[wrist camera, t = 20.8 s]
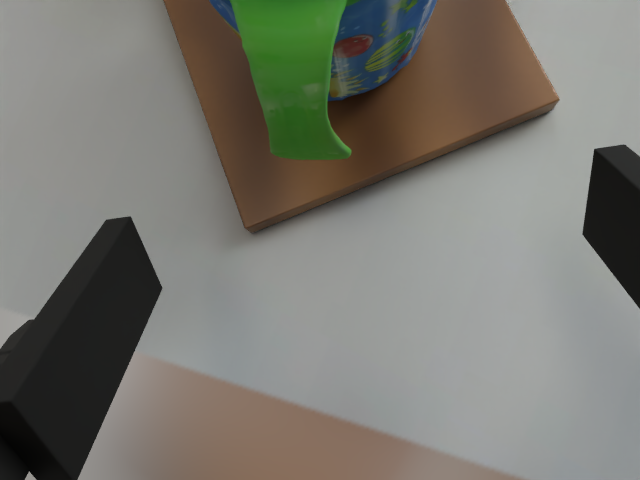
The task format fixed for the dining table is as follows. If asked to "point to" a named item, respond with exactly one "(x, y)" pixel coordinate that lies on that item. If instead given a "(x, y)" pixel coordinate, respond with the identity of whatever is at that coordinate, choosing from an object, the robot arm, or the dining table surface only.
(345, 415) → the dining table surface
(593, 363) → the dining table surface
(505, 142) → the dining table surface
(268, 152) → the wooden board
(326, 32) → the snack cup
